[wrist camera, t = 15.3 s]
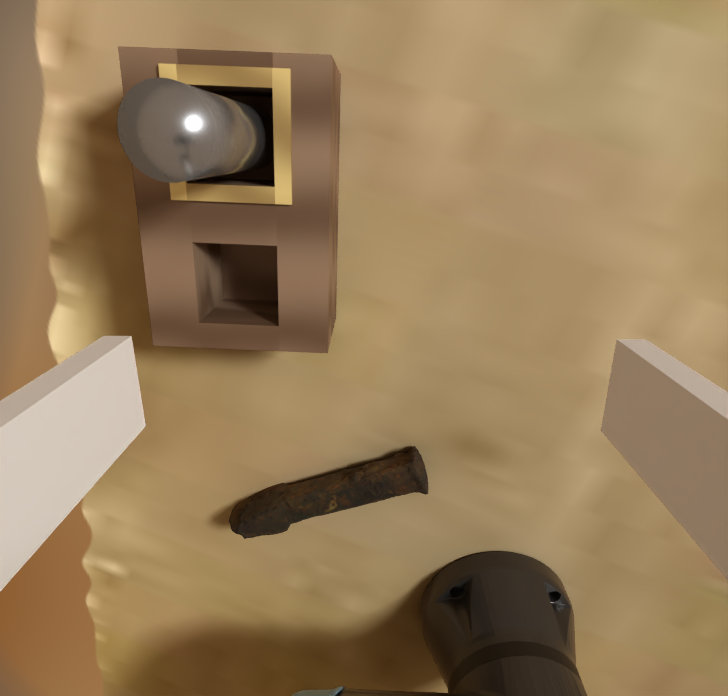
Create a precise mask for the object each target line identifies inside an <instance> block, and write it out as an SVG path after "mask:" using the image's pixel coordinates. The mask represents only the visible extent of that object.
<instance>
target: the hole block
mask: <svg viewBox="0 0 728 696" xmlns="http://www.w3.org/2000/svg"><path fill="white" fill-rule="evenodd" d="M118 51H119V59H120V68H121V76H122V85H123V93H124V96H125V95H126V94H127V92H128V91H129V90H130V89H131V88H132V87H133V86H135V85H136V84H137V83H139V82H141V81H143V80H146V79H150V78H159V77H161V78H169V79H173V80H176V81H179V82H182V83H185V84H188V85H191V86H194V87H196V88H199V89H202V90H205V91H208V92H211V93H214V94H217V95H220V96H223V97H226V98H229V99H232V100H235V101H238V102H241V103H244V104H246V105H249V106H252V107H255V108H258V109H261V110H263V111H265V112H267V113H268V114H269V115H270V116H271V117H272V118H273V134H274V161H273V162H272V163H271V164H269V165H268V166H266V167H264V168H260V169H254V170H248V171H242V172H237V173H231V174H225V175H219V176H213V177H207V178H201V179H195V180H189V181H184V182H178V183H168V182H162V181H158V180H155V179H153V178H151V177H149V176H147V175H145V174H144V173H143V172H141V171H140V170H139V169H138V168H137V167H136V166H135V165H134V164H133V163H132V170H133V179H134V187H135V196H136V204H137V213H138V221H139V230H140V238H141V247H142V255H143V264H144V272H145V281H146V289H147V298H148V306H149V315H150V323H151V332H152V340H153V346H173V347H196V348H219V349H242V350H265V351H288V352H311V353H328V349H329V344H330V340H331V336H332V332H333V328H334V323H335V319H336V285H337V233H338V181H339V128H340V76H341V74H340V72H339V70H338V68H337V66H336V64H335V61H334V59H333V57H332V55H322V54H297V53H271V52H246V51H221V50H195V49H170V48H145V47H119V46H118Z"/></svg>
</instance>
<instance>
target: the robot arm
mask: <svg viewBox="0 0 728 696" xmlns="http://www.w3.org/2000/svg"><path fill="white" fill-rule="evenodd" d="M145 426H146V424H145V418H144V412H143V406H142V399H141V393H140V387H139V380H138V374H137V368H136V362H135V355H134V349H133V343H132V336H103V337H101V338H99V339H98V340H96V341H95V342H93V343H92V344H90V345H88V346H87V347H85V348H84V349H82V350H80V351H79V352H77V353H76V354H74V355H72V356H71V357H69V358H68V359H66V360H64V361H63V362H61V363H60V364H58V365H57V366H55V367H53V368H52V369H50V370H49V371H47V372H46V373H44V374H43V375H41V376H39V377H37V378H36V379H34V380H33V381H31V382H30V383H28V384H26V385H25V386H23V387H22V388H20V389H18V390H17V391H15V392H14V393H12V394H10V395H9V396H7V397H6V398H4V399H3V400H1V401H0V591H1V590H2V589H3V588H4V587H5V585H6V584H7V583H8V582H9V581H10V580H11V579H12V577H13V576H14V575H15V574H16V573H17V572H18V571H19V570H20V568H21V567H22V566H23V565H24V564H25V563H26V562H27V560H28V559H29V558H30V557H31V556H32V555H33V554H34V552H35V551H36V550H37V549H38V548H39V547H40V546H41V545H42V543H43V542H44V541H45V540H46V539H47V538H48V537H49V535H50V534H51V533H52V532H53V531H54V530H55V529H56V527H57V526H58V525H59V524H60V523H61V522H62V521H63V520H64V518H65V517H66V516H67V515H68V514H69V513H70V511H71V510H72V509H73V508H74V507H75V506H76V505H77V504H78V502H79V501H80V500H81V499H82V498H83V497H84V496H85V495H86V493H87V492H88V491H89V490H90V489H91V488H92V487H93V485H94V484H95V483H96V482H97V481H98V480H99V479H100V478H101V476H102V475H103V474H104V473H105V472H106V471H107V470H108V468H109V467H110V466H111V465H112V464H113V463H114V462H115V460H116V459H117V458H118V457H119V456H120V455H121V454H122V453H123V451H124V450H125V449H126V448H127V447H128V446H129V445H130V443H131V442H132V441H133V440H134V439H135V438H136V437H137V435H138V434H139V433H140V432H141V431H142V430H143V429H144V428H145ZM601 431H602V432H603V434H604V435H605V436H606V437H607V438H608V439H609V441H610V442H611V443H612V444H613V445H614V447H615V448H616V449H617V450H618V451H619V452H620V454H621V455H622V456H623V457H624V458H625V460H626V461H627V462H628V463H629V464H630V465H631V467H632V468H633V469H634V470H635V471H636V472H637V474H638V475H639V476H640V477H641V478H642V480H643V481H644V482H645V483H646V484H647V485H648V487H649V488H650V489H651V490H652V491H653V493H654V494H655V495H656V496H657V497H658V498H659V500H660V501H661V502H662V503H663V504H664V505H665V507H666V508H667V509H668V510H669V511H670V513H671V514H672V515H673V516H674V517H675V518H676V520H677V521H678V522H679V523H680V524H681V526H682V527H683V528H684V529H685V530H686V531H687V533H688V534H689V535H690V536H691V537H692V539H693V540H694V541H695V542H696V543H697V544H698V546H699V547H700V548H701V549H702V550H703V551H704V553H705V554H706V555H707V556H708V557H709V559H710V560H711V561H712V562H713V563H714V564H715V566H716V567H717V568H718V569H719V570H720V572H721V573H722V574H723V575H724V576H725V577H726V579H727V580H728V392H726V391H725V390H723V389H722V388H720V387H719V386H717V385H716V384H714V383H712V382H711V381H709V380H708V379H706V378H705V377H703V376H702V375H700V374H699V373H697V372H695V371H694V370H692V369H691V368H689V367H688V366H686V365H685V364H683V363H682V362H680V361H678V360H677V359H675V358H674V357H672V356H671V355H669V354H668V353H666V352H664V351H663V350H661V349H660V348H658V347H657V346H655V345H654V344H652V343H651V342H649V341H647V340H646V339H617V340H616V346H615V352H614V358H613V364H612V369H611V375H610V381H609V387H608V393H607V398H606V404H605V410H604V416H603V422H602V427H601ZM421 620H422V630H423V635H424V638H425V642H426V644H427V646H428V648H429V650H430V653H431V655H432V657H433V659H434V661H435V663H436V665H437V667H438V669H439V671H440V673H441V676H442V678H443V680H444V682H445V684H446V686H447V688H448V693H436V692H407V691H383V690H363V689H347V688H345V687H344V686H339V687H337V688H335V689H324V690H302V691H298V692H296V693H294V694H293V695H291V696H587V694H586V691H585V689H584V686H583V684H582V681H581V679H580V676H579V673H578V670H577V668H576V656H575V631H574V614H573V609H572V605H571V602H570V600H569V598H568V595H567V593H566V591H565V588H564V586H563V584H562V582H561V580H560V579H559V577H558V576H557V575H556V574H555V573H554V572H553V571H552V570H551V569H550V568H549V567H548V566H546V565H545V564H543V563H542V562H540V561H538V560H536V559H534V558H531V557H529V556H526V555H522V554H518V553H512V552H485V553H479V554H475V555H471V556H468V557H465V558H462V559H460V560H458V561H456V562H454V563H452V564H450V565H449V566H447V567H446V568H444V569H443V570H442V571H440V572H439V573H438V574H437V575H436V576H435V577H434V578H433V579H432V581H431V582H430V583H429V585H428V586H427V588H426V590H425V592H424V595H423V597H422V601H421Z"/></svg>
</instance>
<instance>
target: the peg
mask: <svg viewBox="0 0 728 696" xmlns="http://www.w3.org/2000/svg"><path fill="white" fill-rule="evenodd" d="M117 130H118V135H119V139H120V142H121V145H122V147H123V150H124V152H125V153H126V155H127V157H128V158H129V159H130V161H131V162H132V163H133V164H134V165H135V166H136V167H137V168H138V169H139V170H140V171H141V172H143V173H144V174H145V175H147V176H149V177H151V178H153V179H155V180H158V181H162V182H168V183H178V182H184V181H189V180H195V179H201V178H207V177H213V176H219V175H225V174H231V173H237V172H242V171H248V170H254V169H260V168H264V167H266V166H268V165H269V164H271V163H272V162H273V161H274V134H273V118H272V117H271V116H270V115H269V114H268V113H267V112H265V111H263V110H261V109H258V108H255V107H252V106H249V105H246V104H244V103H241V102H238V101H235V100H232V99H229V98H226V97H223V96H220V95H217V94H214V93H211V92H208V91H205V90H202V89H199V88H196V87H194V86H191V85H188V84H185V83H182V82H179V81H176V80H173V79H169V78H161V77H159V78H150V79H146V80H143V81H141V82H139V83H137V84H136V85H135V86H133V87H132V88H131V89H130V90H129V91H128V92H127V94H126V95H125V96H124V98H123V100H122V102H121V104H120V107H119V111H118V116H117Z"/></svg>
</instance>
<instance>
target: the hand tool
mask: <svg viewBox="0 0 728 696" xmlns="http://www.w3.org/2000/svg"><path fill="white" fill-rule="evenodd" d="M413 492H420V493H423V494H428V479H427V474H426V469H425V465H424V462H423V460H422V457H421V455H420V454H419V452H418V450H417V449H416V447H415V446H413V447H412V448H411V449H410V450H409V452H408V453H403V452H399V451H398V452H397V453H396V454H395V455H394V456H393V457H390V458H387V459H384V460H380V461H374V462H371V463H368V464H365V465H363V466H360V467H355V468H351V469H343V470H341V471H339V472H336V473H332V474H327V475H325V476H322V477H319V478H315V479H311V480H307V481H303V482H299V483H296V484H292V485H287V484H285V483H280V484H277V485H274V486H272V487H269V488H267V489H264V490H262V491H261V492H258V493H256V494H255V495H253V496H251V497H249V498H247V499H246V500H244V501H243V502H241V503H239V504H238V505H236V506H235V507H234V509H233V510H232V512H231V515H230V518H229V523H230V525H231V529H232V531H233V532H235V533H236V534H240V535H242V536H243V537H244V539H245V538H253V537H256V536H261V535H273V534H278V533H282V532H284V531H287V530H288V528H289V526H290V524H292V523H296V522H299V521H301V520H304V519H308V518H311V517H314V516H321V515H325V514H329V513H333V512H337V511H341V510H346V509H349V508H353V507H358V506H361V505H365V504H369V503H373V502H377V501H381V500H385V499H388V498H391V497H395V496H400V495H405V494H409V493H413Z"/></svg>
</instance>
